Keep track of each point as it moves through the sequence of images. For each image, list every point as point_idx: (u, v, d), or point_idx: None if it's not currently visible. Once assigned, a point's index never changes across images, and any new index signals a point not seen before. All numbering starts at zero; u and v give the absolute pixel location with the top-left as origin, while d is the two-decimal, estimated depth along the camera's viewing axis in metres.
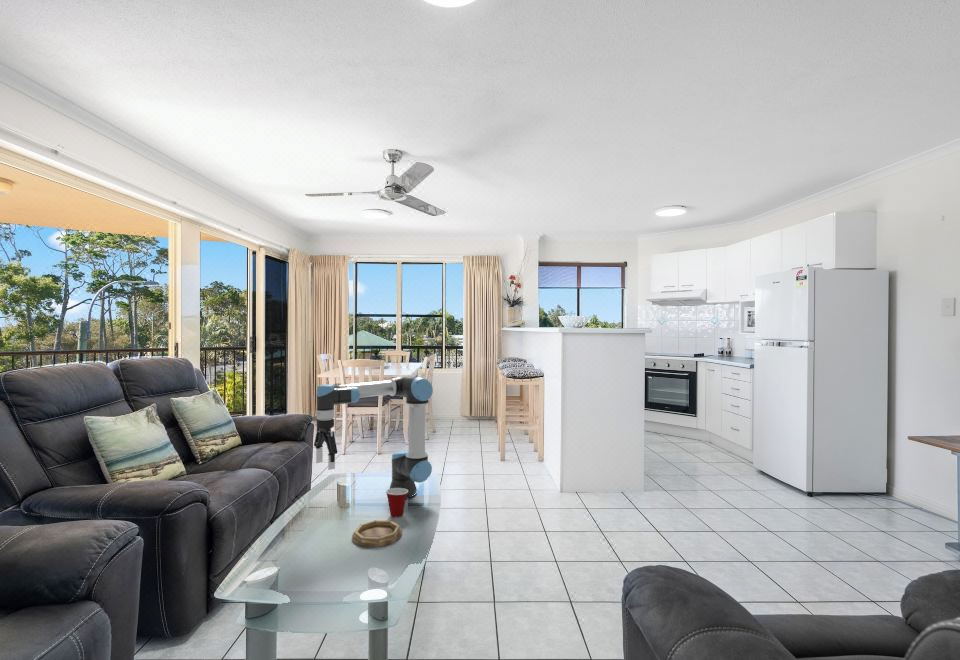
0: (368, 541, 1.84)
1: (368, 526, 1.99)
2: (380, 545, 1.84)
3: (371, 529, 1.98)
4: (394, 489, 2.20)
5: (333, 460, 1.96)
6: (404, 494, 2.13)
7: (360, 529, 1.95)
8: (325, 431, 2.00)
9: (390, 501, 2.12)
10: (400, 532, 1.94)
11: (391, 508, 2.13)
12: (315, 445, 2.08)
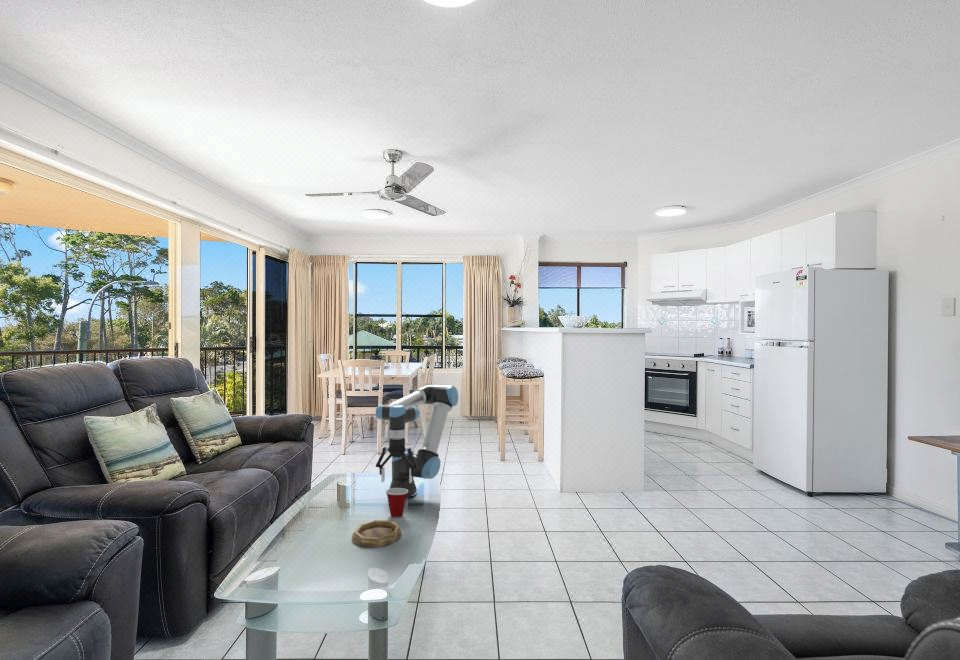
0: (368, 541, 1.84)
1: (368, 526, 1.99)
2: (380, 545, 1.84)
3: (371, 529, 1.98)
4: (394, 489, 2.20)
5: (413, 473, 2.15)
6: (404, 494, 2.13)
7: (360, 529, 1.95)
8: (401, 449, 2.15)
9: (390, 501, 2.12)
10: (400, 532, 1.94)
11: (391, 508, 2.13)
12: (378, 466, 2.15)
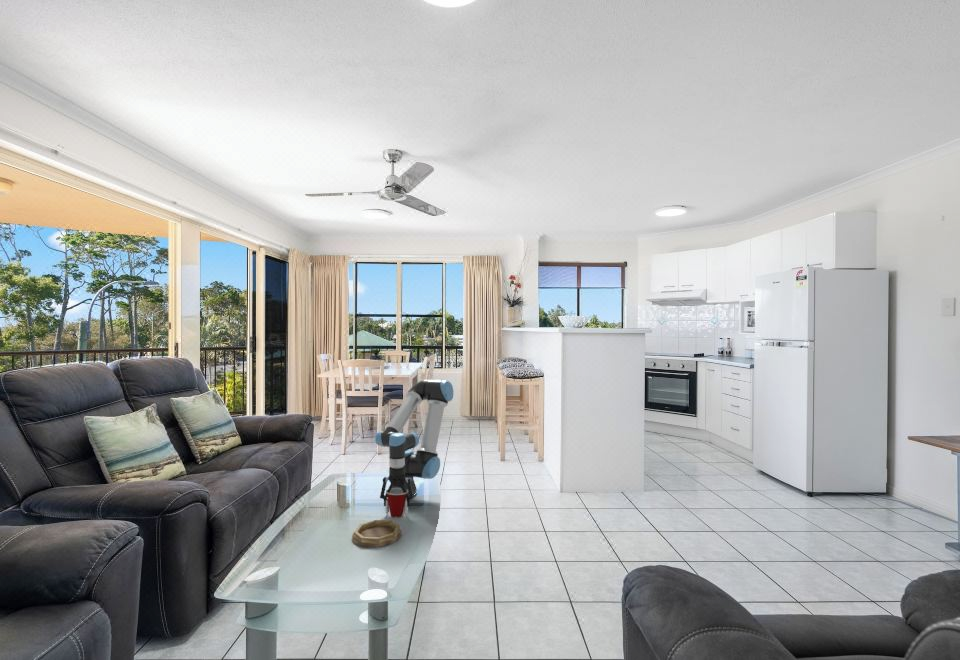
0: (368, 541, 1.84)
1: (368, 526, 1.99)
2: (380, 545, 1.84)
3: (371, 529, 1.98)
4: (394, 489, 2.20)
5: (409, 504, 2.15)
6: (404, 494, 2.13)
7: (360, 529, 1.95)
8: (402, 477, 2.15)
9: (390, 501, 2.12)
10: (400, 532, 1.94)
11: (391, 508, 2.13)
12: (382, 497, 2.15)
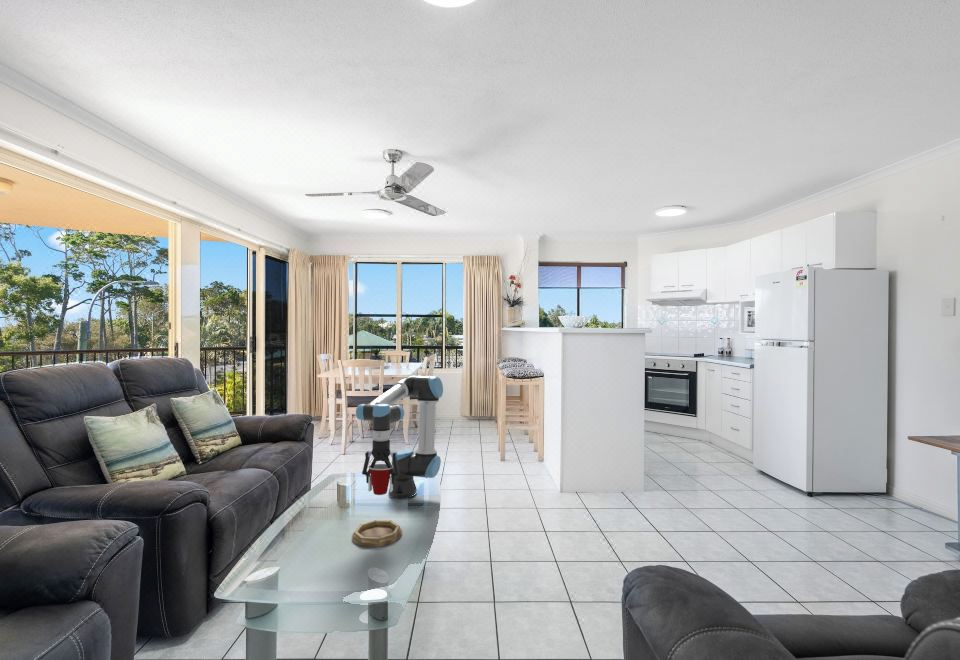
0: (368, 541, 1.84)
1: (368, 526, 1.99)
2: (380, 545, 1.84)
3: (371, 529, 1.98)
4: (378, 465, 2.02)
5: (394, 481, 1.97)
6: (388, 469, 1.95)
7: (360, 529, 1.95)
8: (386, 451, 1.96)
9: (373, 477, 1.94)
10: (400, 532, 1.94)
11: (374, 485, 1.94)
12: (364, 473, 1.97)
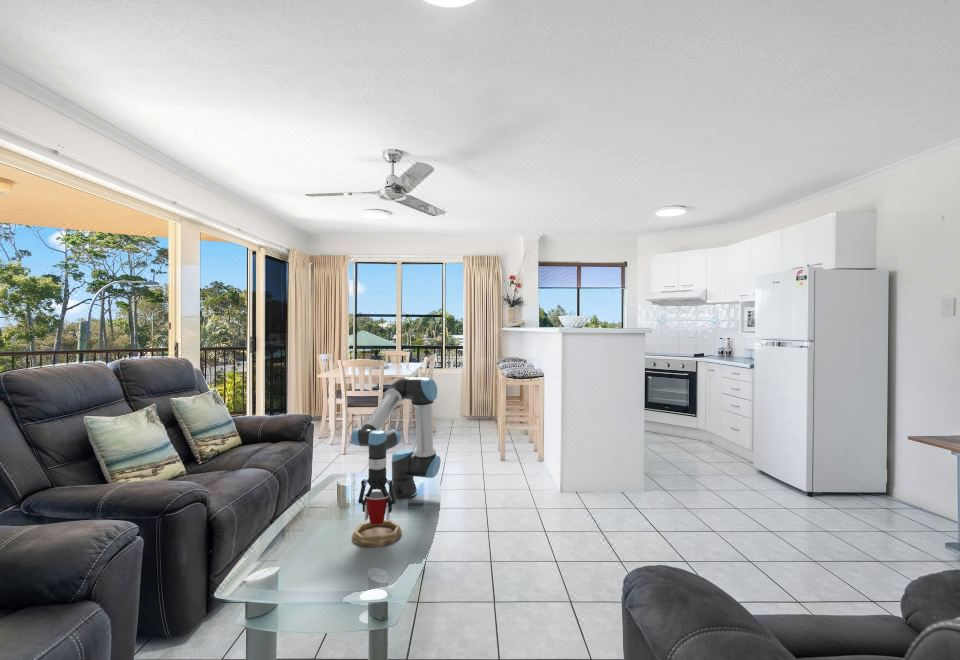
0: (368, 541, 1.84)
1: (368, 526, 1.99)
2: (380, 545, 1.84)
3: (371, 529, 1.98)
4: (374, 493, 1.98)
5: (391, 510, 1.93)
6: (385, 498, 1.91)
7: (360, 529, 1.95)
8: (383, 480, 1.92)
9: (369, 506, 1.90)
10: (400, 532, 1.94)
11: (370, 514, 1.90)
12: (361, 501, 1.93)
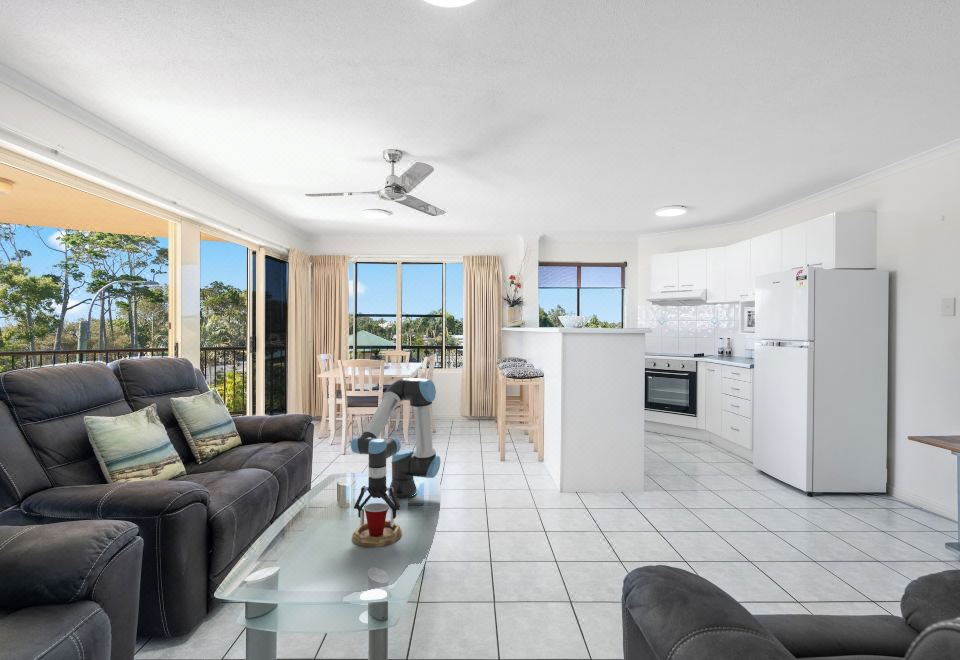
0: (368, 541, 1.84)
1: None
2: (380, 545, 1.84)
3: None
4: (374, 504, 1.98)
5: (395, 516, 1.93)
6: (384, 511, 1.91)
7: (360, 529, 1.95)
8: (382, 488, 1.92)
9: (368, 518, 1.90)
10: (400, 532, 1.94)
11: (370, 526, 1.90)
12: (356, 507, 1.93)
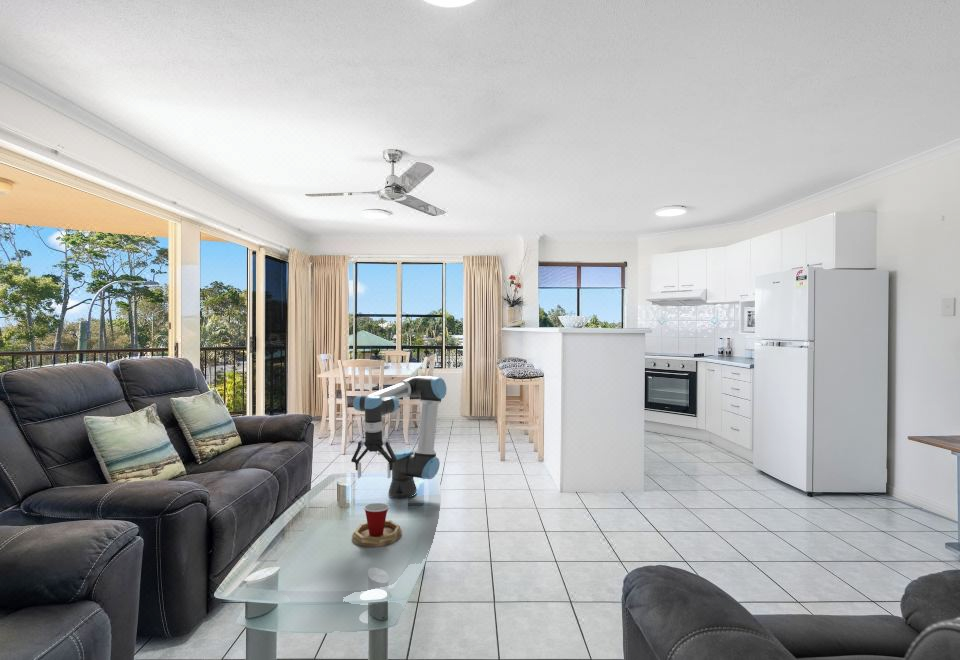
0: (368, 541, 1.84)
1: None
2: (380, 545, 1.84)
3: None
4: (374, 504, 1.98)
5: (392, 468, 2.02)
6: (384, 510, 1.91)
7: (360, 529, 1.95)
8: (378, 442, 2.01)
9: (368, 518, 1.90)
10: (400, 532, 1.94)
11: (370, 526, 1.90)
12: (353, 461, 2.02)
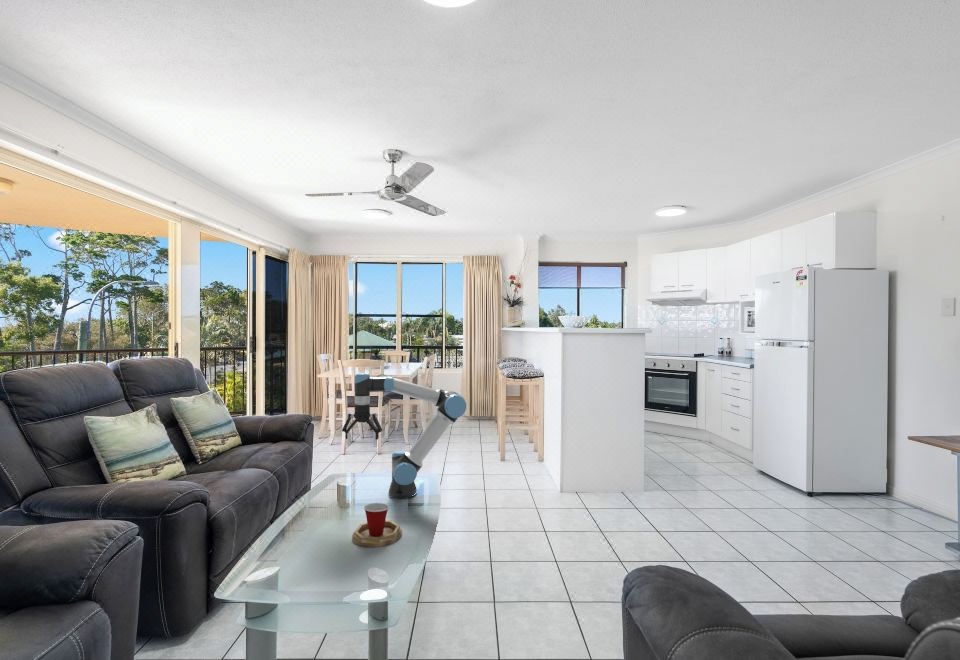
0: (368, 541, 1.84)
1: None
2: (380, 545, 1.84)
3: None
4: (374, 504, 1.98)
5: (378, 437, 2.26)
6: (384, 510, 1.91)
7: (360, 529, 1.95)
8: (366, 414, 2.25)
9: (368, 518, 1.90)
10: (400, 532, 1.94)
11: (370, 526, 1.90)
12: (344, 430, 2.26)
